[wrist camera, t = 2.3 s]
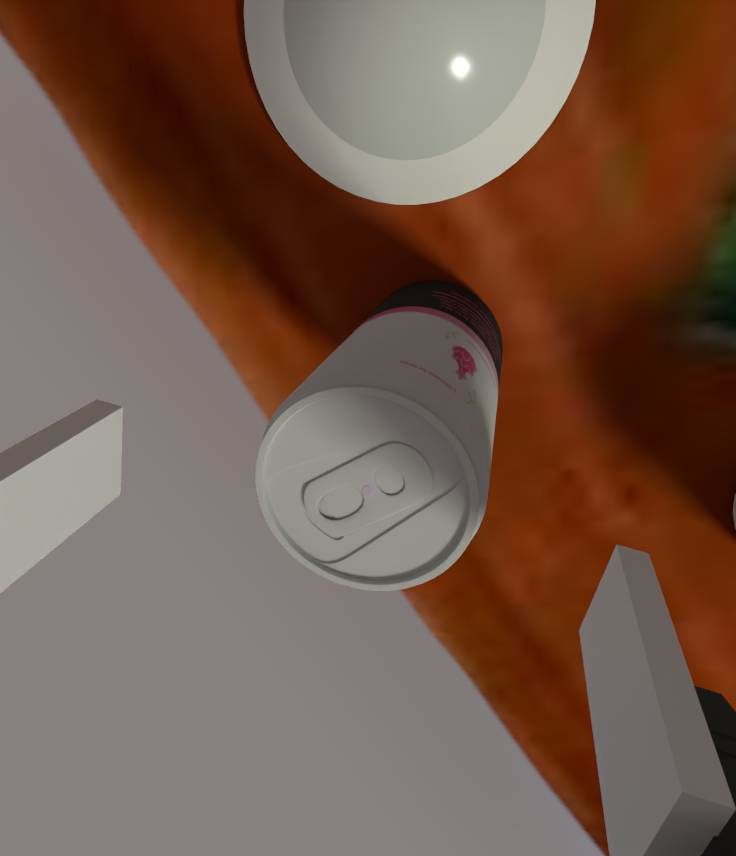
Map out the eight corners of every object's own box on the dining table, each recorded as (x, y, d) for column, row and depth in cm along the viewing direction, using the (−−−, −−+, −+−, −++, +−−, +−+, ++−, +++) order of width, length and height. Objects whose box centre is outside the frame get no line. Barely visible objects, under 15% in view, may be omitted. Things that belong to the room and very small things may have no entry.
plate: (270, -234, 23) (263, -245, 22) (653, -182, 21) (657, -192, 21) (234, 168, 29) (228, 168, 28) (532, 235, 27) (532, 236, 27)
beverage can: (343, 322, 31) (204, 446, 17) (460, 251, 28) (403, 333, 15) (410, 430, 32) (330, 624, 19) (527, 373, 30) (531, 548, 16)
